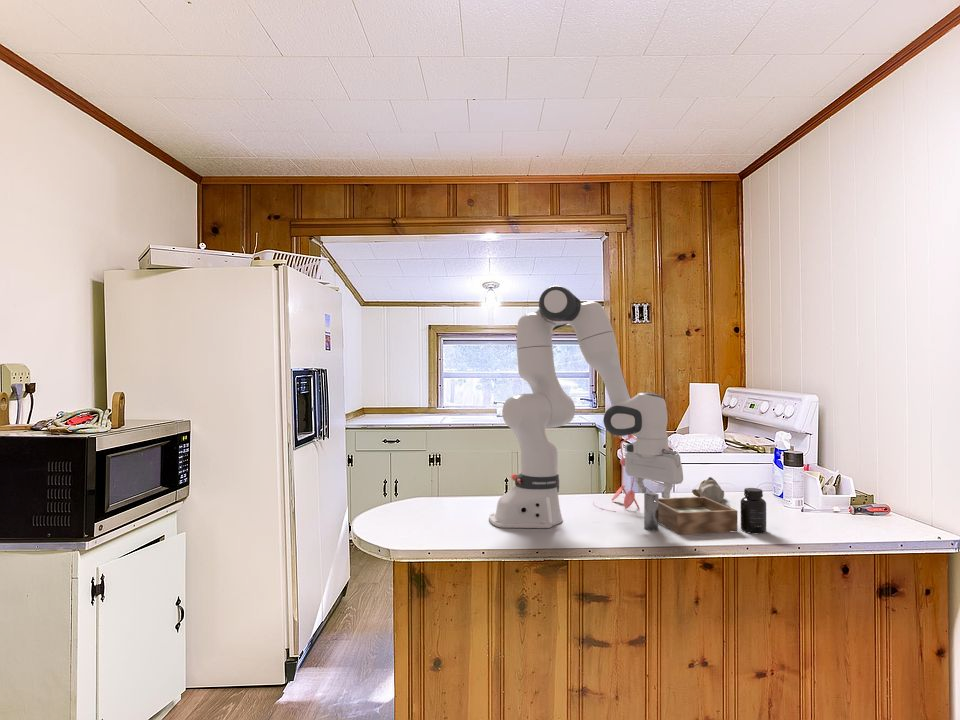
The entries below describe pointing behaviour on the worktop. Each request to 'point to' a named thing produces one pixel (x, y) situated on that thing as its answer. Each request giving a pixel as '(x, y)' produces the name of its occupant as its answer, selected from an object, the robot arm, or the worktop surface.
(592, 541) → the worktop surface
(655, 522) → the peg
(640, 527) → the worktop surface
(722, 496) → the ceramic sculpture
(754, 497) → the supplement bottle
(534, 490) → the robot arm
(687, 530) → the box
